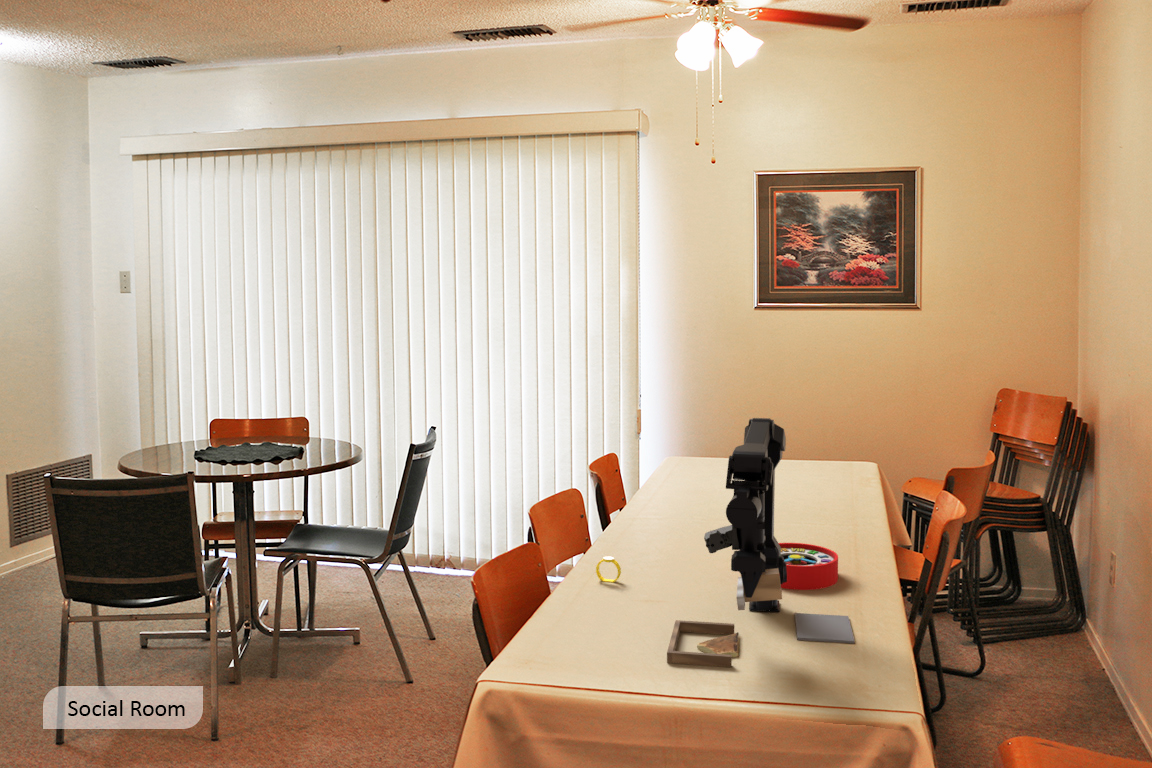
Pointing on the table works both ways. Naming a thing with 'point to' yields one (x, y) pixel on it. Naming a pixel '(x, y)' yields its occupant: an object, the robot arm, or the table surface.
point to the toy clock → (809, 566)
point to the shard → (721, 645)
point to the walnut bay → (695, 657)
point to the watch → (608, 559)
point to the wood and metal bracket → (761, 589)
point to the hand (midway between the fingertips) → (748, 594)
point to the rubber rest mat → (823, 628)
